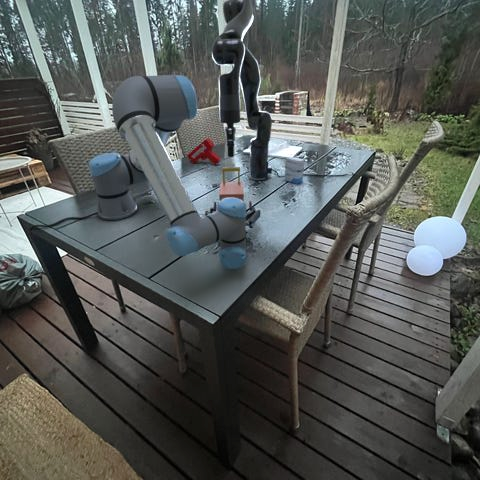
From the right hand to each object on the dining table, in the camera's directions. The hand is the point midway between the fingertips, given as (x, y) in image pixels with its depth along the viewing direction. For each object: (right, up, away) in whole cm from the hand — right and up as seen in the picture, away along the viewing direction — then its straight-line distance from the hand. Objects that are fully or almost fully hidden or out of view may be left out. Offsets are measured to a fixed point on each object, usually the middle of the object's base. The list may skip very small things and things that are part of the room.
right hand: (230, 153), depth 106 cm
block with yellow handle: (0, -13, +5) cm, 14 cm away
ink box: (+32, -3, +38) cm, 49 cm away
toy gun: (-19, +15, +65) cm, 69 cm away
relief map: (+27, +30, +88) cm, 97 cm away
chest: (0, -21, +9) cm, 23 cm away
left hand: (+1, -20, 0) cm, 20 cm away
